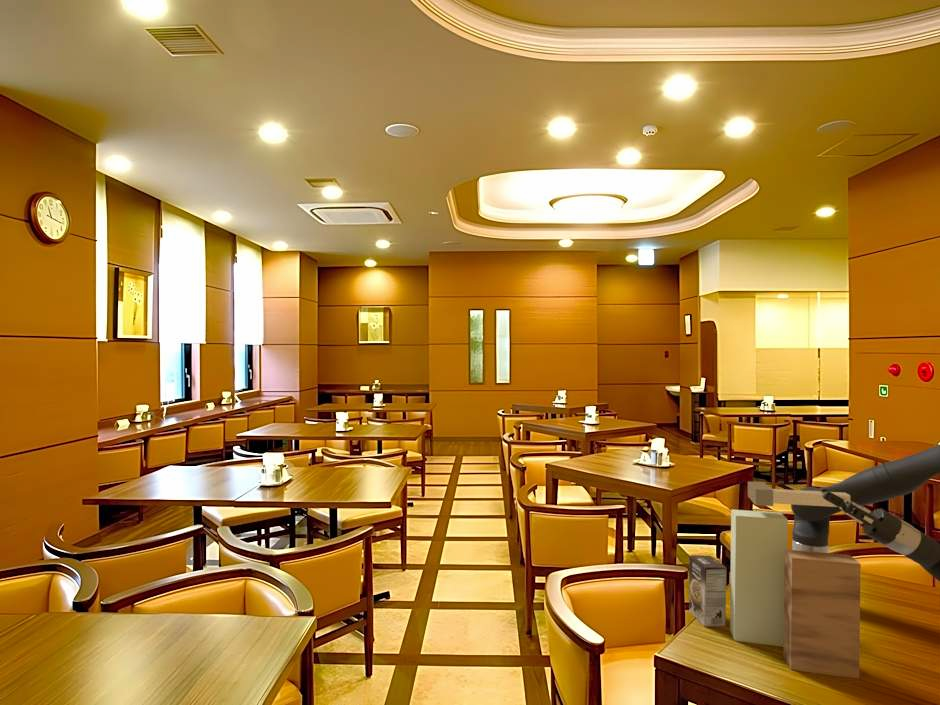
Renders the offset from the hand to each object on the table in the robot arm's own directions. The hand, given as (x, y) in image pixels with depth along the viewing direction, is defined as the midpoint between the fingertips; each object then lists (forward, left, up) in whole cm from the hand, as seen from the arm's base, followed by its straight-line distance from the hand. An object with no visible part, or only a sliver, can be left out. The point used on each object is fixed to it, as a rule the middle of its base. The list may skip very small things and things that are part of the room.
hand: (823, 493), depth 143 cm
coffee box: (-8, -26, -39) cm, 47 cm away
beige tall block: (0, -15, -39) cm, 41 cm away
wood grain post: (+11, -4, -39) cm, 40 cm away
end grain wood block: (0, -6, -3) cm, 6 cm away
